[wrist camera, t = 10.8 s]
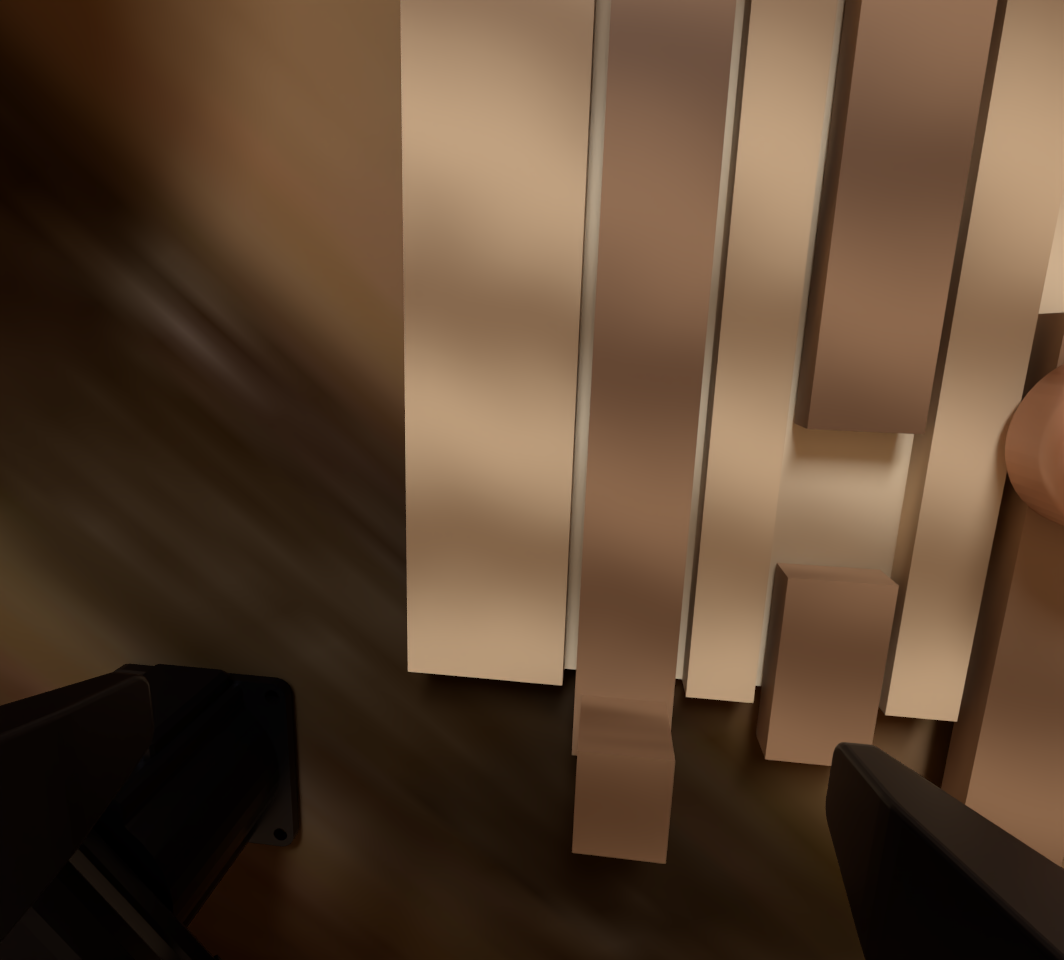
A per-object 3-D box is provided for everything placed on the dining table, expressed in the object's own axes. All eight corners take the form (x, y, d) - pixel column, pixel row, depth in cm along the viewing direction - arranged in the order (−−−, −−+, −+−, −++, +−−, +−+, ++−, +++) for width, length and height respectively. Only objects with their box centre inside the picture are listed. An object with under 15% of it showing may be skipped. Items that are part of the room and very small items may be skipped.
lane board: (1207, 754, 19) (1290, 812, 17) (426, 681, 22) (404, 722, 19) (1459, -85, 14) (1621, -166, 12) (423, -51, 17) (393, -113, 15)
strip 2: (988, 1020, 21) (1071, 1169, 17) (897, 1008, 21) (958, 1151, 17) (1157, 317, 16) (1323, 311, 12) (1035, 313, 16) (1161, 306, 12)
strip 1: (661, 768, 20) (673, 864, 16) (572, 759, 20) (564, 851, 17) (732, -43, 15) (772, -165, 12) (614, -40, 16) (616, -156, 12)
